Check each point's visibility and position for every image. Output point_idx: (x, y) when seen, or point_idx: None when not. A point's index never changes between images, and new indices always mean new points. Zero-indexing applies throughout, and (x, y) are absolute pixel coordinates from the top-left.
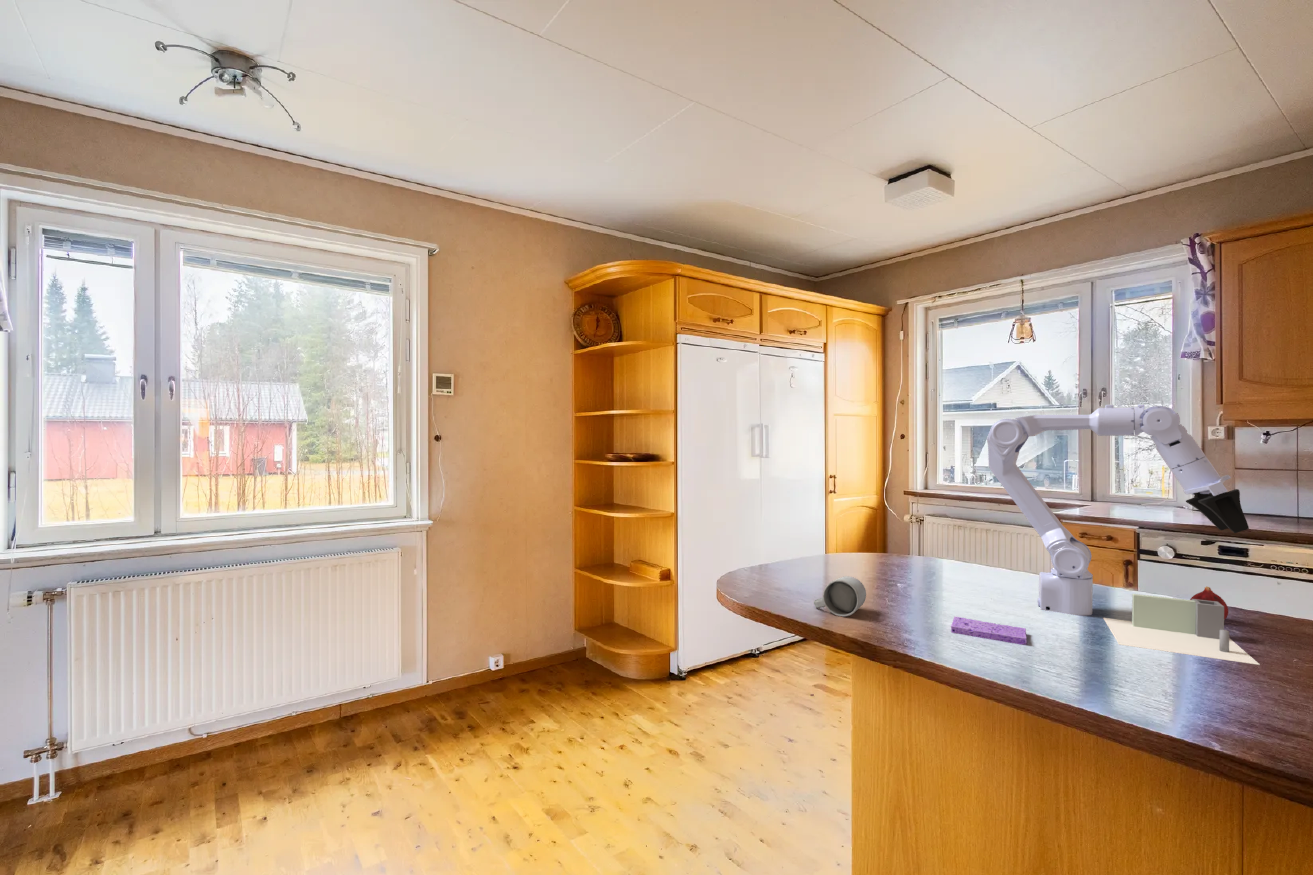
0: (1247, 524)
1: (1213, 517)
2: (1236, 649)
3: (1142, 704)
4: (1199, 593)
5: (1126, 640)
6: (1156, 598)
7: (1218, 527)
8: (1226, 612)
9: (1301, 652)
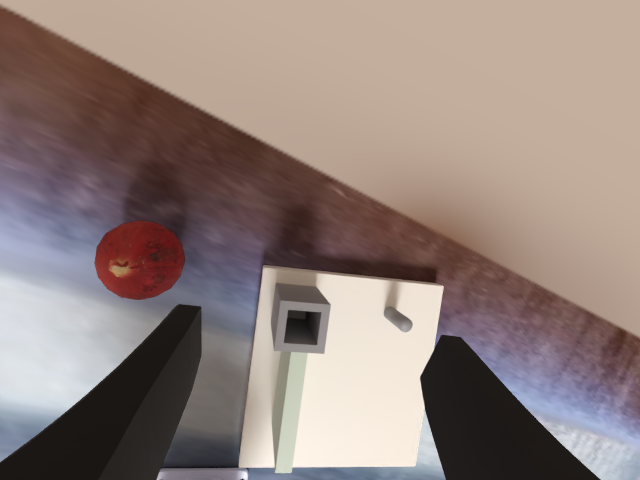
0: (476, 354)
1: (168, 439)
2: (372, 288)
3: (590, 461)
4: (129, 286)
5: (388, 451)
6: (297, 426)
7: (194, 376)
8: (171, 233)
9: (283, 153)
